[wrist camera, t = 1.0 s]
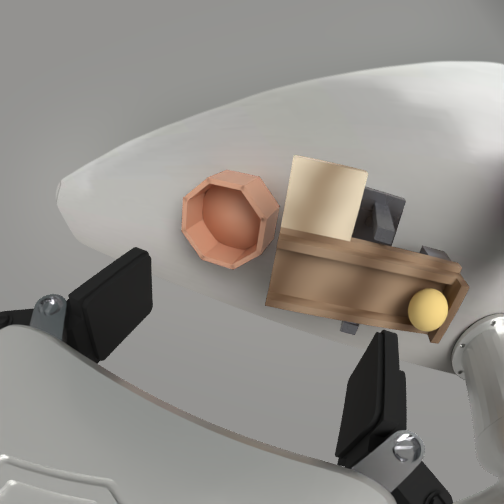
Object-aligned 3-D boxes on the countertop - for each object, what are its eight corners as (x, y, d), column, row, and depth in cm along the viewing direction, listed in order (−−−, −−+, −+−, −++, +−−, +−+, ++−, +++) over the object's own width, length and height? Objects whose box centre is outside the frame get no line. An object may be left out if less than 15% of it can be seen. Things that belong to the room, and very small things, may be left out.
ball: (443, 282, 25) (461, 307, 21) (427, 314, 27) (442, 341, 23) (412, 277, 25) (428, 303, 21) (396, 311, 27) (409, 339, 23)
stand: (404, 198, 30) (417, 224, 22) (368, 301, 36) (365, 347, 29) (362, 186, 31) (362, 207, 24) (332, 290, 38) (321, 334, 30)
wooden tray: (463, 195, 25) (497, 220, 18) (419, 307, 31) (435, 347, 25) (295, 149, 26) (291, 161, 20) (271, 278, 33) (261, 319, 27)
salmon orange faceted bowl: (284, 182, 34) (271, 191, 30) (270, 259, 39) (257, 277, 35) (205, 165, 37) (184, 172, 33) (199, 238, 42) (180, 252, 37)
